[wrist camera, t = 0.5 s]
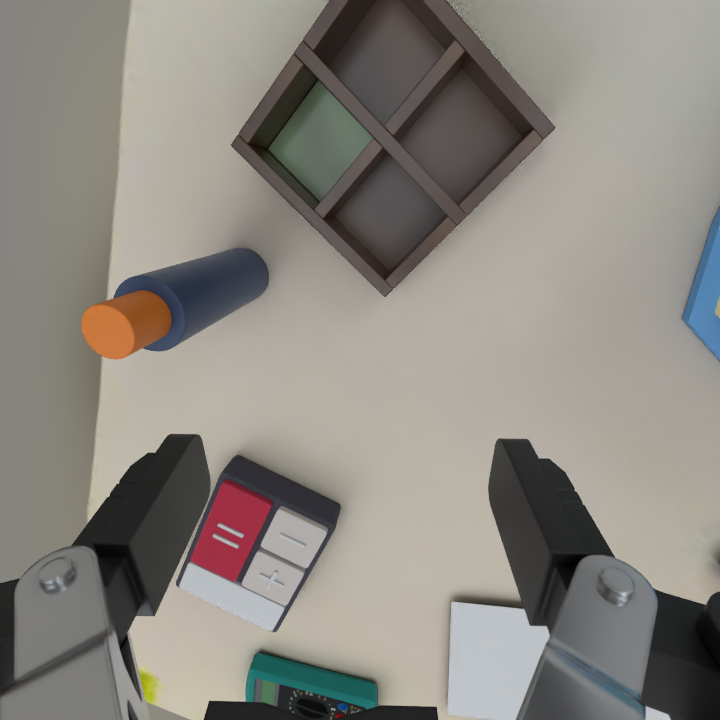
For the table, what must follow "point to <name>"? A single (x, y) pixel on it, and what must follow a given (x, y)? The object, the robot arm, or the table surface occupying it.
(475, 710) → the paper stack
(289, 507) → the calculator
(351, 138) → the organizer
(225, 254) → the bottle
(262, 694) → the digital multimeter
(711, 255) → the stadium
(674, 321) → the table surface
